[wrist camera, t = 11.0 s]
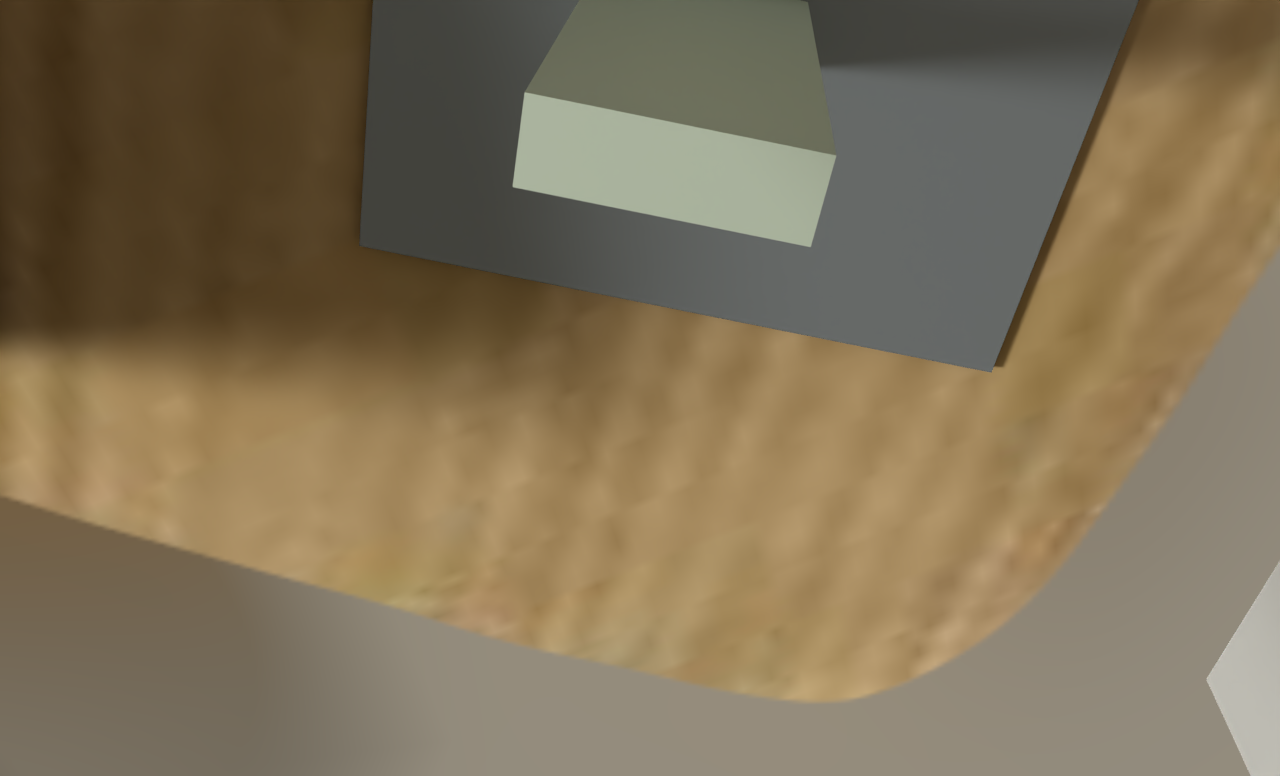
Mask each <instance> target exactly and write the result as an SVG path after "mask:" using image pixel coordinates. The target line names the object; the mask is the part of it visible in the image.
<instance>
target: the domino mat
mask: <svg viewBox="0 0 1280 776" xmlns="http://www.w3.org/2000/svg"><path fill="white" fill-rule="evenodd" d="M801 1H806V2H808V5H809V11H810V16H811V21H812V27H813V32H814V38H815V43H816V48H817V54H818V59H819V64H820V70H821V75H822V81H823V86H824V91H825V97H826V102H827V108H828V113H829V118H830V124H831V129H832V134H833V140H834V145H835V151H836V159H835V163H834V166H833V170H832V173H831V177H830V180H829V184H828V187H827V191H826V195H825V198H824V202H823V205H822V209H821V212H820V216H819V219H818V223H817V227H816V230H815V234H814V237H813V241H812V244H811V247H807V246H802V245H797V244H792V243H787V242H782V241H777V240H772V239H768V238H763V237H758V236H753V235H748V234H743V233H738V232H733V231H728V230H723V229H718V228H713V227H708V226H703V225H698V224H693V223H688V222H683V221H678V220H673V219H668V218H663V217H658V216H654V215H649V214H644V213H639V212H634V211H629V210H624V209H619V208H614V207H609V206H604V205H599V204H594V203H589V202H584V201H579V200H574V199H569V198H564V197H559V196H554V195H549V194H545V193H540V192H535V191H530V190H525V189H520V188H515V187H513V179H514V171H515V163H516V155H517V148H518V140H519V132H520V124H521V116H522V109H523V101H524V93H525V91H526V89H527V87H528V86H529V84H530V82H531V81H532V79H533V77H534V76H535V74H536V72H537V71H538V69H539V67H540V65H541V64H542V62H543V60H544V59H545V57H546V55H547V54H548V52H549V50H550V49H551V47H552V45H553V44H554V42H555V40H556V39H557V37H558V35H559V34H560V32H561V30H562V28H563V27H564V25H565V23H566V22H567V20H568V18H569V17H570V15H571V13H572V12H573V10H574V8H575V7H576V5H577V3H578V2H579V0H373V10H372V28H371V46H370V63H369V81H368V99H367V117H366V135H365V153H364V171H363V189H362V207H361V225H360V243H359V246H363V247H367V248H372V249H377V250H382V251H387V252H392V253H397V254H402V255H407V256H412V257H417V258H422V259H427V260H432V261H437V262H442V263H447V264H452V265H457V266H462V267H467V268H472V269H477V270H482V271H487V272H492V273H497V274H502V275H507V276H512V277H517V278H522V279H527V280H532V281H537V282H542V283H547V284H552V285H557V286H562V287H567V288H572V289H577V290H582V291H587V292H592V293H597V294H602V295H607V296H612V297H617V298H622V299H627V300H632V301H637V302H642V303H647V304H652V305H657V306H662V307H667V308H672V309H677V310H682V311H687V312H692V313H697V314H702V315H707V316H712V317H717V318H722V319H727V320H732V321H737V322H742V323H747V324H752V325H757V326H762V327H767V328H772V329H777V330H782V331H787V332H792V333H797V334H802V335H807V336H812V337H817V338H822V339H827V340H832V341H837V342H842V343H847V344H852V345H857V346H862V347H867V348H872V349H877V350H882V351H887V352H892V353H897V354H902V355H907V356H912V357H917V358H922V359H927V360H932V361H937V362H942V363H947V364H952V365H957V366H962V367H967V368H972V369H977V370H982V371H987V372H992V369H993V367H994V364H995V362H996V359H997V357H998V354H999V352H1000V349H1001V347H1002V344H1003V342H1004V339H1005V337H1006V334H1007V332H1008V329H1009V327H1010V324H1011V322H1012V319H1013V316H1014V314H1015V311H1016V309H1017V306H1018V304H1019V301H1020V299H1021V296H1022V294H1023V291H1024V289H1025V286H1026V284H1027V281H1028V279H1029V276H1030V274H1031V271H1032V269H1033V266H1034V263H1035V261H1036V258H1037V256H1038V253H1039V251H1040V248H1041V246H1042V243H1043V241H1044V238H1045V236H1046V233H1047V231H1048V228H1049V226H1050V223H1051V221H1052V218H1053V216H1054V213H1055V210H1056V208H1057V205H1058V203H1059V200H1060V198H1061V195H1062V193H1063V190H1064V188H1065V185H1066V183H1067V180H1068V178H1069V175H1070V173H1071V170H1072V168H1073V165H1074V163H1075V160H1076V157H1077V155H1078V152H1079V150H1080V147H1081V145H1082V142H1083V140H1084V137H1085V135H1086V132H1087V130H1088V127H1089V125H1090V122H1091V120H1092V117H1093V115H1094V112H1095V110H1096V107H1097V104H1098V102H1099V99H1100V97H1101V94H1102V92H1103V89H1104V87H1105V84H1106V82H1107V79H1108V77H1109V74H1110V72H1111V69H1112V67H1113V64H1114V62H1115V59H1116V57H1117V54H1118V51H1119V49H1120V46H1121V44H1122V41H1123V39H1124V36H1125V34H1126V31H1127V29H1128V26H1129V24H1130V21H1131V19H1132V16H1133V14H1134V11H1135V9H1136V6H1137V3H1138V1H1139V0H801Z"/></svg>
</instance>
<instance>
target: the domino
mask: <svg viewBox="0 0 1280 776" xmlns="http://www.w3.org/2000/svg"><path fill="white" fill-rule="evenodd" d="M835 159H836V151H835V145H834V140H833V134H832V129H831V124H830V118H829V113H828V108H827V102H826V97H825V91H824V86H823V81H822V75H821V70H820V64H819V59H818V54H817V48H816V43H815V38H814V32H813V27H812V21H811V16H810V11H809V5H808V2H806V1H801V0H579V2H578V3H577V5H576V7H575V8H574V10H573V12H572V13H571V15H570V17H569V18H568V20H567V22H566V23H565V25H564V27H563V28H562V30H561V32H560V34H559V35H558V37H557V39H556V40H555V42H554V44H553V45H552V47H551V49H550V50H549V52H548V54H547V55H546V57H545V59H544V60H543V62H542V64H541V65H540V67H539V69H538V71H537V72H536V74H535V76H534V77H533V79H532V81H531V82H530V84H529V86H528V87H527V89H526V91H525V93H524V101H523V109H522V116H521V124H520V132H519V140H518V148H517V155H516V163H515V171H514V179H513V187H515V188H520V189H525V190H530V191H535V192H540V193H545V194H549V195H554V196H559V197H564V198H569V199H574V200H579V201H584V202H589V203H594V204H599V205H604V206H609V207H614V208H619V209H624V210H629V211H634V212H639V213H644V214H649V215H654V216H658V217H663V218H668V219H673V220H678V221H683V222H688V223H693V224H698V225H703V226H708V227H713V228H718V229H723V230H728V231H733V232H738V233H743V234H748V235H753V236H758V237H763V238H768V239H772V240H777V241H782V242H787V243H792V244H797V245H802V246H807V247H811V244H812V241H813V237H814V234H815V230H816V227H817V223H818V219H819V216H820V212H821V209H822V205H823V202H824V198H825V195H826V191H827V187H828V184H829V180H830V177H831V173H832V170H833V166H834V163H835Z"/></svg>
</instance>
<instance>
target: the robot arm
mask: <svg viewBox="0 0 1280 776" xmlns="http://www.w3.org/2000/svg"><path fill="white" fill-rule="evenodd" d="M1206 680H1207V682H1208V684H1209V686H1210V688H1211V690H1212V693H1213V695H1214V697H1215V699H1216V701H1217V704H1218V706H1219V708H1220V710H1221V712H1222V714H1223V716H1224V719H1225V721H1226V723H1227V725H1228V727H1229V730H1230V732H1231V734H1232V736H1233V738H1234V741H1235V743H1236V745H1237V747H1238V749H1239V751H1240V754H1241V756H1242V758H1243V760H1244V762H1245V765H1246V767H1247V769H1248V771H1249V773H1250V775H1251V776H1280V561H1279V563H1278V564H1277V566H1276V568H1275V569H1274V571H1273V572H1272V574H1271V576H1270V577H1269V579H1268V581H1267V583H1266V584H1265V585H1264V587H1263V589H1262V590H1261V592H1260V593H1259V595H1258V597H1257V598H1256V600H1255V602H1254V603H1253V605H1252V607H1251V608H1250V610H1249V611H1248V613H1247V614H1246V616H1245V618H1244V619H1243V621H1242V622H1241V624H1240V626H1239V627H1238V629H1237V631H1236V632H1235V634H1234V635H1233V637H1232V639H1231V640H1230V642H1229V644H1228V645H1227V647H1226V648H1225V650H1224V652H1223V653H1222V655H1221V656H1220V658H1219V660H1218V661H1217V663H1216V665H1215V666H1214V668H1213V669H1212V671H1211V672H1210V674H1209V676H1208V677H1207V679H1206Z"/></svg>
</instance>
